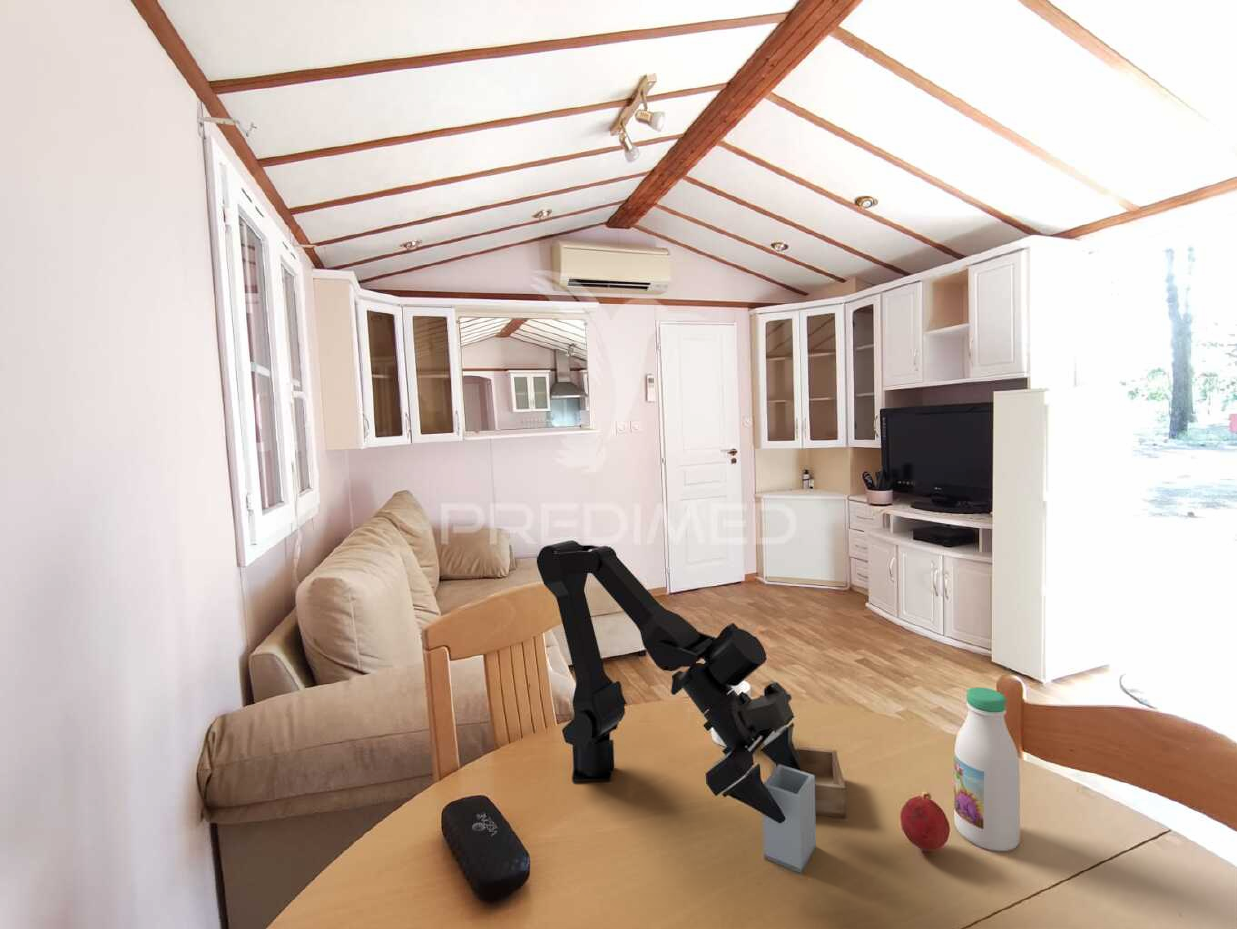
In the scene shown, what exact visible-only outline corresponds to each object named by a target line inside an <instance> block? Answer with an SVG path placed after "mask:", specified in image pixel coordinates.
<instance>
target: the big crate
mask: <svg viewBox="0 0 1237 929" xmlns="http://www.w3.org/2000/svg"><path fill="white" fill-rule="evenodd" d="M794 748H795V750H796V753H797V755H798V757H799V760H800V762H801V764H802V767H803V769H804V771H805V772H806V773H809V774H812V775H815V816H816V815H817V816H826V817H835V818H842V819H847V809H846V808H847V805H846V803H847V800H846V798H847V797H846V796H847V794H846V788H847V787H846V785H845V782H844V777H843V774H842V770H841V765H840V762H839V761H840V760H839V758H838V754H837V750H835V749H823V748H812V747H803V746H802V747H799V746H794ZM769 760H770V775H771V774H772V772H773V771H774V770H775V769H776V767H777V766H778V765H777V764H775V763H774V762H773V761H772V760H771V759H770V758H769Z"/></svg>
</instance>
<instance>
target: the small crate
mask: <svg viewBox="0 0 1237 929" xmlns="http://www.w3.org/2000/svg"><path fill="white" fill-rule="evenodd" d="M769 775H770V776H768V777H767V779H766V780H765V781H764V782H763V783H764V785H765V786H766V788H767V789H768V791H769V792H770V794H771V795H772V797H773V798H774V800H775V801H776V803H777V804H778V806H779V807H780V809H781V811H782V812H783V814H784V816H785V818H786V819H785V821H784V822H782V823H778V822H776V821H774V820H772V819H771V818H769V817H767V816H766V815H764V814H762V827H763V828H762V830H763V832H762V833H763V834H762V838H763V859H765V860H767V861H770V862H772V863H774V864H777V865H779V866H781V867H784V868H787V869H789V870H791V871H793V872H796V873H798V874H800V875H801V874H802V873H803V871H804V869H805V867H806V866H807V864H808V861H809V860H810V858H811V856H812V855H813V852H814V850H815V848H817V847H816V846H817V843H816V842H817V839H816V838H817V837H816V834H817V833H816V815H815V775H812V774H809V773H806V772H803V771H799V770H796V769H793V768H790V767H787V766H784V765H780V764H779V765H778V766H777V767H776V769H775V770H774V771H773V772H772V774H771V773H770V774H769Z"/></svg>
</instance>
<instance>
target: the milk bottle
mask: <svg viewBox="0 0 1237 929" xmlns="http://www.w3.org/2000/svg"><path fill="white" fill-rule="evenodd" d="M966 707H967V708H968V713H967V716H966V718H965V721H964V723H963V725H962V726H961V728H960V729H959V731H958V733H957V736H956V739H955V744H954V757H953V758H954V759H953V762H954V763H953V764H954V765H953V769H954V770H953V775H954V776H953V804H954V806H953V809H954V810H953V811H954V812H953V815H954V817H953V818H954V820H953V821H954V825H955V828H956V830H957V831H958V833H959V834H960V835H961V836H962V837H963V839H965V840H967V841H969V842H970V843H972V844H974V845H975V846H978V847H980V848H984V849H986V850H989V851H994V852H1009V851H1012V850H1014V849H1016V848H1017V847H1018V845H1019V844H1020V836H1021V789H1020V788H1021V787H1020V786H1021V785H1020V784H1021V783H1020V782H1021V777H1020V776H1021V775H1020V774H1021V773H1020V761H1019V759H1020V758H1019V754H1018V750H1017V747H1016V744H1015V743H1014V742H1015V741H1014V739H1013V738H1012V736H1011V734H1010V731H1009V729H1008V726H1007V724H1006V721H1005V715H1006V713H1007V710H1006V708H1007V698H1006V696H1005V695H1004V694H1002V693H1001V692H999V691H997V690H995V689H992V688H988V687H971V688H969V689H967V691H966Z"/></svg>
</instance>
